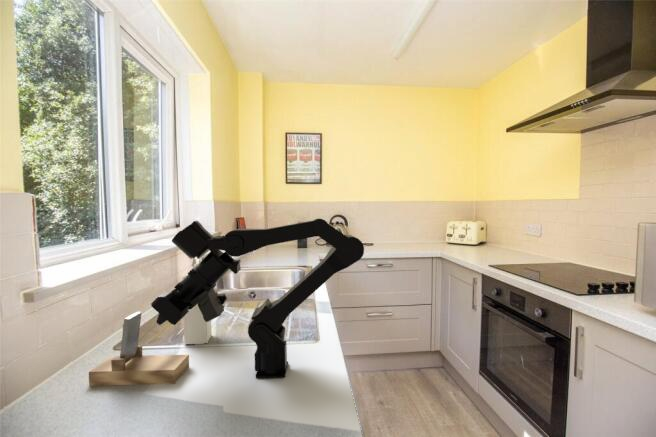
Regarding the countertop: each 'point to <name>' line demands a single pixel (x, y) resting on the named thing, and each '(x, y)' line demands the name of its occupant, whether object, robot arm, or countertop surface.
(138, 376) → the body
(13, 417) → the countertop surface
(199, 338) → the milk
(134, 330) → the lever cap
